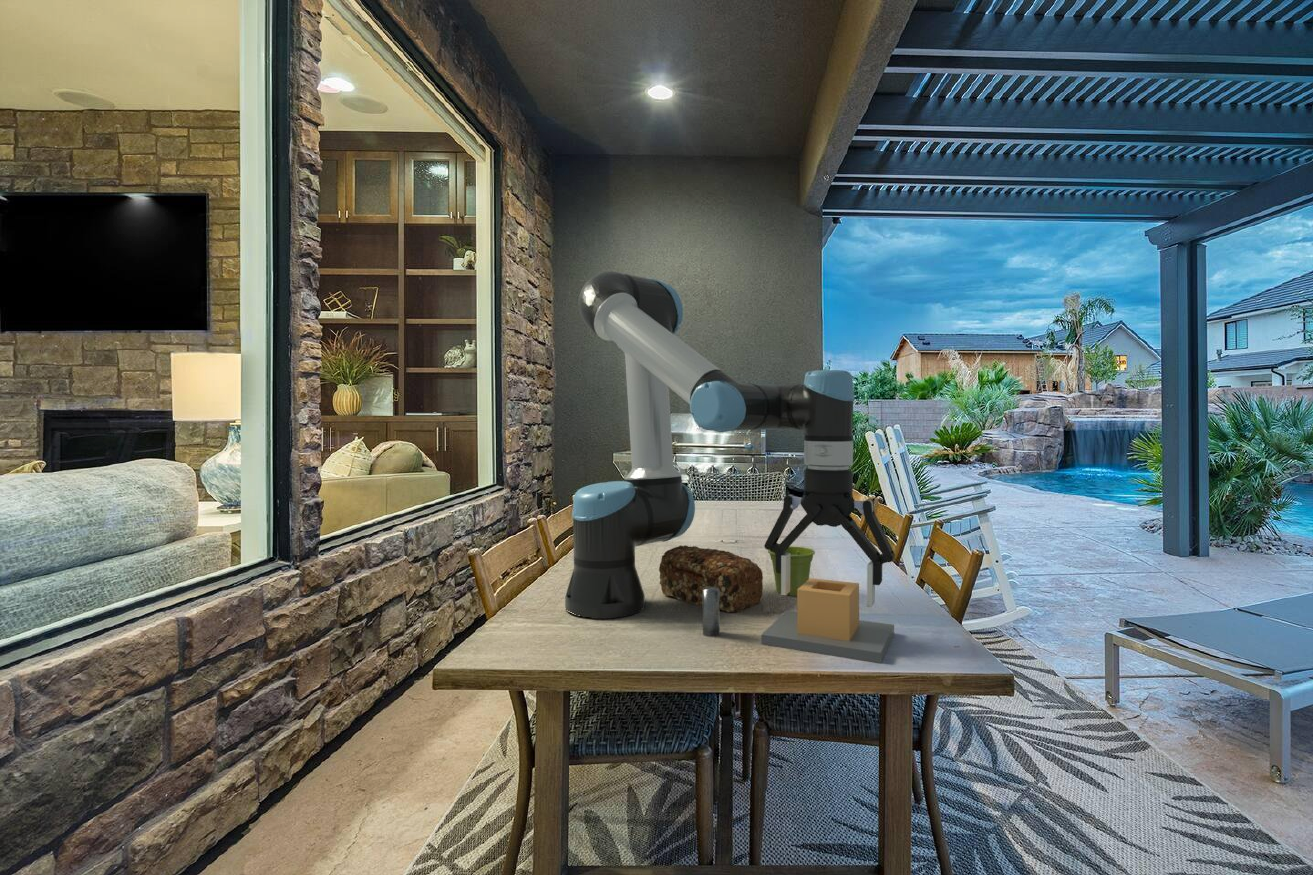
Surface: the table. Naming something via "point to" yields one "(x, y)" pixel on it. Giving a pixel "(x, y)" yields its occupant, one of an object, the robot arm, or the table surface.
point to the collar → (828, 609)
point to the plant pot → (795, 567)
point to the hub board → (862, 646)
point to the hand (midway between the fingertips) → (826, 598)
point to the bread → (710, 577)
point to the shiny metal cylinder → (711, 611)
